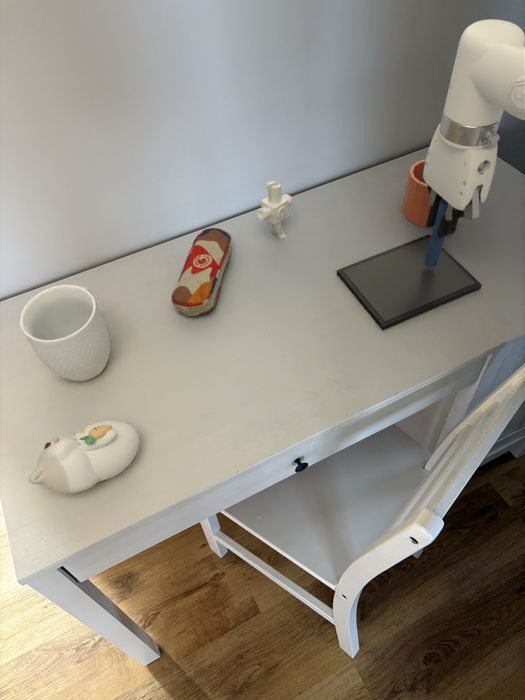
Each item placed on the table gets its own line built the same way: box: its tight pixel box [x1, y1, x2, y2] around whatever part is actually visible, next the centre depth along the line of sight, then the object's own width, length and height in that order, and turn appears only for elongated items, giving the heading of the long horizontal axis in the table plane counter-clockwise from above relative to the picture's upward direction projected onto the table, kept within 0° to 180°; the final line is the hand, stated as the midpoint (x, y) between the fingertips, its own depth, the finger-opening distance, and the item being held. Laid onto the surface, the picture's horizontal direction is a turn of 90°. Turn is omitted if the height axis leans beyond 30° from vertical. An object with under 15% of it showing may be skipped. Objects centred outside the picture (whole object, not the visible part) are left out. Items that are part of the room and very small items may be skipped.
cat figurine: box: [28, 420, 140, 495], centre depth 73 cm, size 10×8×15 cm
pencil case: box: [170, 227, 232, 317], centre depth 96 cm, size 11×20×5 cm, turn 155°
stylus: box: [424, 198, 448, 267], centre depth 89 cm, size 2×2×13 cm
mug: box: [19, 284, 111, 382], centre depth 83 cm, size 15×11×13 cm
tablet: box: [336, 233, 483, 331], centre depth 94 cm, size 20×15×1 cm
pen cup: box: [402, 158, 431, 228], centre depth 102 cm, size 9×9×9 cm
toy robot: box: [256, 180, 293, 239], centre depth 99 cm, size 4×8×12 cm, turn 133°
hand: (440, 228), depth 88 cm, fingers closed on stylus, 2 cm apart
